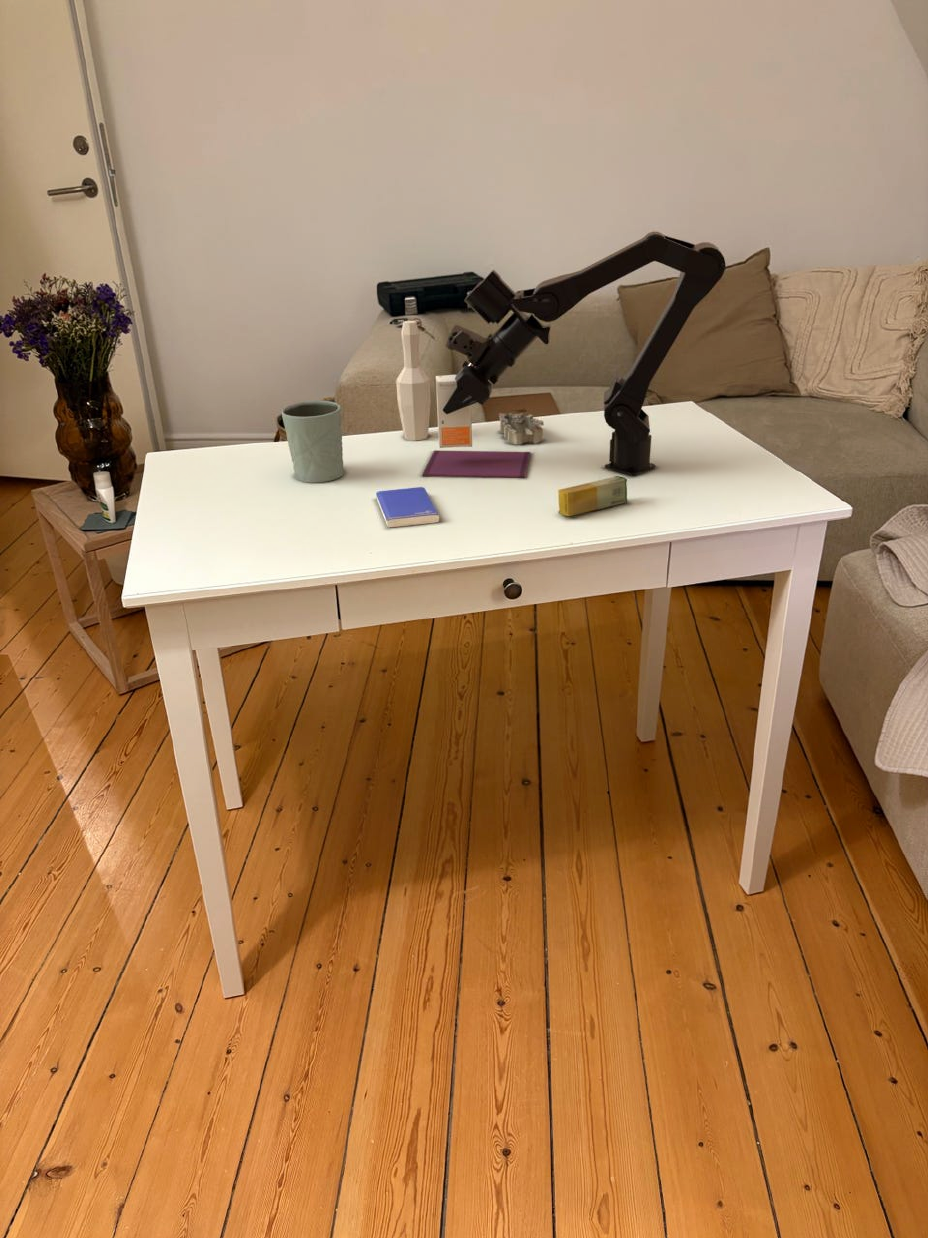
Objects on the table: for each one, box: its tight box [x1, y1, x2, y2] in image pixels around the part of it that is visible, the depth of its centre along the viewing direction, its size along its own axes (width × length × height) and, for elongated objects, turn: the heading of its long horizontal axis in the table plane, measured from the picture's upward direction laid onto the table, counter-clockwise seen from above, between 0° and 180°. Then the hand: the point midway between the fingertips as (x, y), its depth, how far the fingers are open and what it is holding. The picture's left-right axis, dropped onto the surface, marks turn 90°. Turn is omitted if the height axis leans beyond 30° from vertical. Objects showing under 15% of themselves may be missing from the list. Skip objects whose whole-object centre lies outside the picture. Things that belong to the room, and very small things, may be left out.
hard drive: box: [375, 486, 440, 528], centre depth 156 cm, size 2×8×12 cm
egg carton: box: [498, 412, 545, 446], centre depth 188 cm, size 11×8×4 cm
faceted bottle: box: [395, 320, 431, 441], centre depth 185 cm, size 6×6×22 cm
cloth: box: [421, 450, 531, 479], centre depth 175 cm, size 18×13×1 cm
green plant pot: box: [281, 400, 344, 484], centre depth 170 cm, size 10×10×12 cm
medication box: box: [557, 475, 628, 517], centre depth 153 cm, size 12×3×4 cm, turn 121°
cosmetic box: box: [435, 374, 473, 449], centre depth 170 cm, size 6×4×12 cm
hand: (446, 408), depth 170 cm, fingers closed on cosmetic box, 4 cm apart
